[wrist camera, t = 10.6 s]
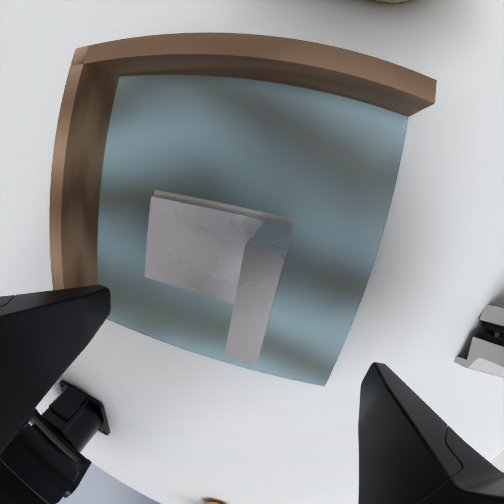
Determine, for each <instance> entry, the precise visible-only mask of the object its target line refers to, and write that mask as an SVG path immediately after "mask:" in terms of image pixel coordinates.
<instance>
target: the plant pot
mask: <svg viewBox="0 0 504 504" xmlns="http://www.w3.org/2000/svg"><path fill="white" fill-rule="evenodd" d="M376 1H381V2H389V3H398V2H405V1H408V0H376Z"/></svg>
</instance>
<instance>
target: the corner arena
mask: <svg viewBox="0 0 504 504" xmlns="http://www.w3.org/2000/svg"><path fill="white" fill-rule="evenodd" d="M436 82H437V80H435V79H432V78H430V77H428V76H425V75H423V74H420V73H418V72H415V71H413V70H410V69H407V68H405V67H402V66H399V65H396V64H393V63H390V62H387V61H384V60H381V59H378V58H375V57H372V56H368V55H365V54H361V53H357V52H354V51H350V50H346V49H342V48H337V47H333V46H328V45H324V44H319V43H313V42H308V41H302V40H296V39H289V38H282V37H273V36H264V35H253V34H237V33H179V34H163V35H152V36H143V37H135V38H128V39H121V40H115V41H110V42H104V43H99V44H94V45H90V46H85V47H81V48H77V49H75V53H74V56H73V59H72V63H71V66H70V70H69V73H68V77H67V81H66V85H65V89H64V94H63V98H62V103H61V108H60V113H59V119H58V125H57V131H56V137H55V145H54V153H53V162H52V173H51V188H50V256H51V270H52V282H53V290H60V289H68V288H76V287H84V286H91V285H103V286H105V287H108V288H109V289H110V295H111V311H110V314H109V316H108V317H107V319H108V320H110V321H113V322H115V323H117V324H120V325H122V326H124V327H127V328H129V329H132V330H134V331H137V332H139V333H142V334H144V335H147V336H149V337H152V338H155V339H157V340H160V341H163V342H165V343H168V344H171V345H174V346H177V347H180V348H182V349H185V350H188V351H191V352H194V353H197V354H200V355H203V356H207V357H210V358H213V359H216V360H220V361H223V362H226V363H230V364H233V365H237V366H240V367H244V368H247V369H251V370H255V371H259V372H263V373H267V374H271V375H275V376H279V377H283V378H287V379H292V380H296V381H301V382H306V383H310V384H315V385H321V386H325V384H326V382H327V380H328V378H329V376H330V374H331V372H332V369H333V367H334V365H335V363H336V361H337V358H338V356H339V354H340V351H341V349H342V347H343V344H344V342H345V340H346V337H347V335H348V332H349V330H350V327H351V325H352V322H353V320H354V317H355V315H356V312H357V309H358V307H359V304H360V301H361V299H362V296H363V293H364V290H365V287H366V284H367V282H368V279H369V276H370V273H371V270H372V267H373V264H374V260H375V257H376V254H377V251H378V248H379V244H380V241H381V237H382V234H383V230H384V227H385V223H386V220H387V216H388V212H389V208H390V204H391V200H392V196H393V192H394V188H395V184H396V179H397V175H398V170H399V165H400V160H401V155H402V150H403V145H404V139H405V133H406V127H407V120H408V117H409V116H411V115H413V114H415V113H417V112H419V111H421V110H422V109H424V108H426V107H428V106H430V105H432V104H434V103H435V94H436ZM160 194H162V195H167V196H172V197H177V198H182V199H187V200H192V201H197V202H202V203H207V204H211V205H216V206H221V207H225V208H230V209H235V210H239V211H244V212H248V213H253V214H257V215H261V216H266V217H270V218H274V219H279V220H283V221H287V222H291V223H294V224H293V228H292V233H291V237H290V241H289V245H288V250H287V254H286V258H285V262H284V266H283V270H282V274H281V278H280V282H279V286H278V290H277V294H276V298H275V302H274V306H273V309H272V313H271V316H270V320H269V323H268V327H267V330H266V334H265V337H264V341H263V344H262V347H261V351H260V354H259V357H258V361H257V364H256V365H253V364H250V363H246V362H242V361H239V360H235V359H232V358H228V357H225V356H224V354H225V349H226V344H227V338H228V333H229V328H230V322H231V317H232V312H233V306H234V303H230V302H227V301H223V300H220V299H216V298H212V297H209V296H205V295H202V294H199V293H195V292H192V291H188V290H185V289H182V288H178V287H175V286H172V285H169V284H165V283H162V282H159V281H156V280H153V279H150V278H146V277H144V276H145V258H146V244H147V232H148V221H149V212H150V203H151V196H156V195H160Z"/></svg>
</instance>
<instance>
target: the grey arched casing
mask: <svg viewBox="0 0 504 504" xmlns="http://www.w3.org/2000/svg"><path fill="white" fill-rule="evenodd" d="M479 319H480V320H482V321H483V324H482V327H484V328H487V329H489V330H492V331H494V337H492V336H489V335H486V334H483V333H479V335H478V338H476V337H473V338H472V342H471V346H470V350H469V354H468V357H467V359H465V358H462V357H458V356H457V357H456V359H455V361H454V362H456V363H458V364H460V365H461V366H463V367H465V368H469V369H472V370H476V371H480V372H484V373H488V374H491V375H495V376H499V377H503V378H504V308H501V307H496V306H491V305H487V306H486V307H485V308H484V310H483V312H482V314H481V316H480V318H479Z"/></svg>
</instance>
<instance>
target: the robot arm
mask: <svg viewBox="0 0 504 504" xmlns="http://www.w3.org/2000/svg"><path fill="white" fill-rule="evenodd" d="M110 311H111V295H110V289H109V288H108V287H105V286H103V285H91V286H84V287H76V288H68V289H60V290H52V291H44V292H36V293H28V294H20V295H16V296H15V295H11V296H2V297H0V504H56V503H58V502H59V501H60V500H61V498H62V497H64V498H66V497H68V496H69V495H71V494H72V493H73V492H74V490H75V489H76V488H77V487H78V485H79V483H80V481H81V480H82V478H83V476H84V474H85V473H86V471H87V469H88V468H89V466H90V464H91V461H90V460H89V459H86V458H85V457H84V456H83V455H82V454H81V453H80V452H81V451H82V449H83V448H84V447H85V446H86V444H87V443H88V442H89V441H90V439H91V438H92V437H93V436H94V434H95V433H96V432H97V430H98V431H100V432H101V433H103V434H105V435H108V434H109V433H110V432H109V429H108V425H107V421H106V417H105V413H104V409H103V406H102V404H101V403H100V402H98V401H96V400H95V399H93V398H91V397H89V396H88V395H86V394H84V393H82V392H81V391H79V390H77V389H76V388H74V387H72V386H71V385H69V384H68V383H66V382H65V381H63V380H61V381H60V382H59V384H60V387H61V390H62V393H61V394H60V395H59V396H58V397H57V398H56V399H55V400H54V401H53V402H52V403H51V404H50V405H49V408H48V409H47V410H46V411H45V412H44V413H43V414H42V415H40V414H39V412H38V410H37V409H36V408H35V407H36V406H37V405H38V404H39V402H40V401H41V400H42V399H43V397H44V396H45V395H46V394H47V392H48V391H49V390H50V389H51V387H52V386H53V385H54V384H55V383H56V381H57V380H58V379H59V378H60V376H61V375H62V374H63V373H64V372H65V371H66V369H67V368H68V367H69V366H70V365H71V363H72V362H73V361H74V360H75V359H76V358H77V356H78V355H79V354H80V353H81V352H82V351H83V350H84V348H85V347H86V346H87V345H88V344H89V342H90V341H91V340H92V338H93V337H94V335H95V334H96V332H97V331H98V330H99V328H100V327H101V325H102V324H103V323H104V321H105V320H106V319H107V317H108V316H109V314H110ZM29 421H30V422H31V423H32V426H31V425H30V424H29V423H28V422H29ZM358 436H359V502H358V504H504V473H503V472H501V471H500V470H498V469H497V468H496V467H495V466H493V465H492V464H491V463H490V462H488V461H487V460H486V459H485V458H484V457H482V456H481V455H480V454H479V453H478V452H476V451H475V450H474V449H473V448H472V447H471V446H469V445H468V444H467V443H466V442H465V441H464V440H463V439H462V438H461V437H460V436H458V435H457V434H456V433H455V432H454V431H453V430H452V429H451V428H450V427H449V426H448V427H447V424H446V423H445V422H444V421H443V420H442V419H441V418H440V417H439V416H438V415H437V414H436V413H435V412H434V411H433V410H432V409H431V408H430V407H429V406H428V405H427V404H426V403H425V402H424V401H423V400H422V399H421V398H420V397H419V396H418V395H417V394H415V393H414V392H413V391H412V390H411V389H410V388H409V387H408V386H407V385H406V384H405V383H404V382H403V381H402V380H401V379H400V378H399V377H398V376H397V375H396V374H395V373H394V372H393V371H392V370H391V369H390V368H389V367H388V366H387V365H385V364H383V363H377V362H374V363H372V364H371V366H370V368H369V370H368V372H367V374H366V375H365V377H364V379H363V381H362V384H361V391H360V408H359V423H358Z"/></svg>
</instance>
